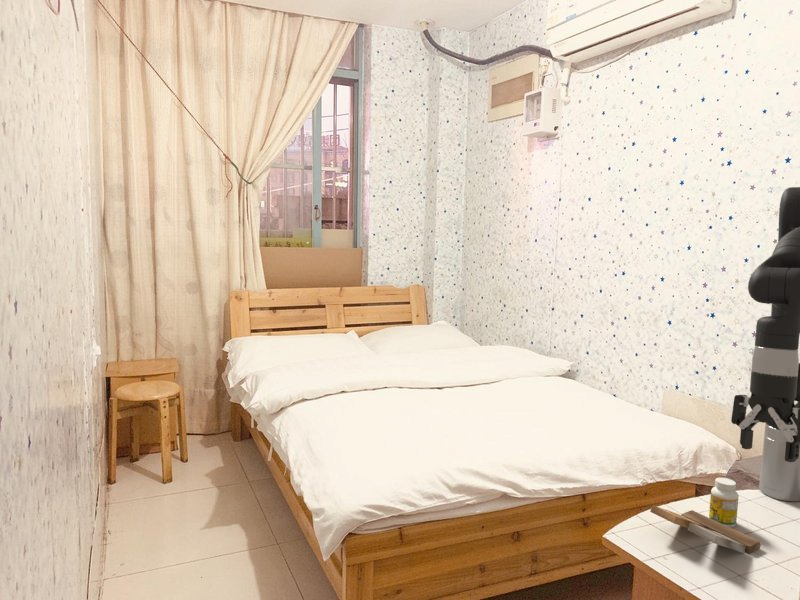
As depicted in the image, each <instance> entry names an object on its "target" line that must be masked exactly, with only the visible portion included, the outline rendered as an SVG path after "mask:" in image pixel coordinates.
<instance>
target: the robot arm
mask: <svg viewBox="0 0 800 600" xmlns="http://www.w3.org/2000/svg"><path fill="white" fill-rule="evenodd" d="M777 235H778V238H777V239H778V241H777V243H776V245H775V247H774V249H773V252H772V254H771V256H769V257H768V258H767V259H766V260H764V261H763V262H762V263H760V264H759V265H758V266H757V267H756V268H755V269H754V270H753V272H752V273H751V274H750V277H749V279H748V284H747V291H748V294H749V295H750V298H751V299H752V300H754V301H755V302H757V303H760V304H770V305H771V311H770V313H771V314H770V315H768V316H762V317H760V318H758V320H757V322H756V326H755V327H756V328H755V340H754V349H753V350H754V351H753V353H752V358H751V359H752V360H751V371H750V372H751V373H750V382H749V383H750V385H749V391H750V396H748V394H747V395H746V394H735V395H734V397H733V405H732V412H731V419H730V420H731V423H732V424H733V425H737V426H738V427H739V429H740V436H739V437H740V438H739V443H740V445H741V449H743V450H751V449H753V443H754V442H753V439H754V430H753V428H754V427H755V426H756V425H757V424H759V423H762V424H763V423H765V425H764V434H763V436H764V437H763V445H762V446H763V447H762V455H761V457H762V458H761V465H760V476H759V484H758V485H759V486H758V490H759V491H760V492H761V493H762V494H764V495H766V496H768V497H770V498H773V499H777V500H779V501H785V502H800V362H799V361H800V360H799V346H800V345H799V344H800V343H799V342H800V186H792V187H787V188H786V189H784V190H783V192H782V194H781V197H780V202H779V209H778V233H777ZM795 402H796V403H795ZM748 406H749V407H750V409H751V410H750V411H749V413H747V408H748Z"/></svg>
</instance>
